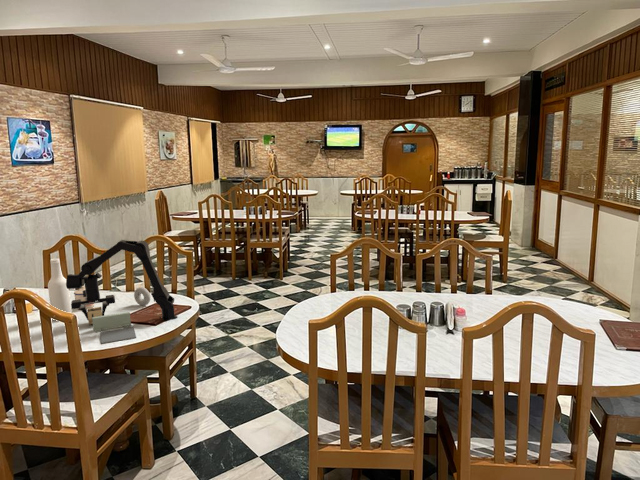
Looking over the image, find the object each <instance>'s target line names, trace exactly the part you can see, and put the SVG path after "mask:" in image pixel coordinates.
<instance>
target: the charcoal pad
mask: <svg viewBox="0 0 640 480" xmlns="http://www.w3.org/2000/svg"><path fill="white" fill-rule="evenodd" d="M133 339H137V335H136V330H135V326H129V327H125V328H124V327H121V328H117V329H116V328H115V329H111V330H110V329H109V330H102V331H101V332H100V344H101V345H104V344H109V343H115V342H121V341H127V340H133Z"/></svg>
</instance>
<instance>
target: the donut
mask: <svg viewBox="0 0 640 480" xmlns="http://www.w3.org/2000/svg"><path fill="white" fill-rule="evenodd" d="M142 296H143V298H142ZM133 297H134V301H135V302H136V303H137V304H138V305H139V306H142V307H143V306H144V307H145V306H147V305H149V303H150V302H151V293H150V292H149V290H148V289H147V288H145V287H143V286H141V287H137V288H136V289H135V291H134V293H133Z"/></svg>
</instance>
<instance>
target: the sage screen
mask: <svg viewBox="0 0 640 480" xmlns="http://www.w3.org/2000/svg"><path fill="white" fill-rule="evenodd" d="M92 321H93V324H92V327H93V332H96V333H101V332H102V331H105V330H108V329H109V330H110V329H116V328H128V327H130V326H132V321H131V312H130V311H125V312H119V313H113V314H106V315H105V314H104V316H98V317H92Z"/></svg>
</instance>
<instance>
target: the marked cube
mask: <svg viewBox="0 0 640 480" xmlns="http://www.w3.org/2000/svg"><path fill="white" fill-rule="evenodd" d="M87 313H88V320H87V321H88V325H93V321H92V317H98V316H102V306H96V307H95V306H94V307H92V308H88V309H87Z"/></svg>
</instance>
